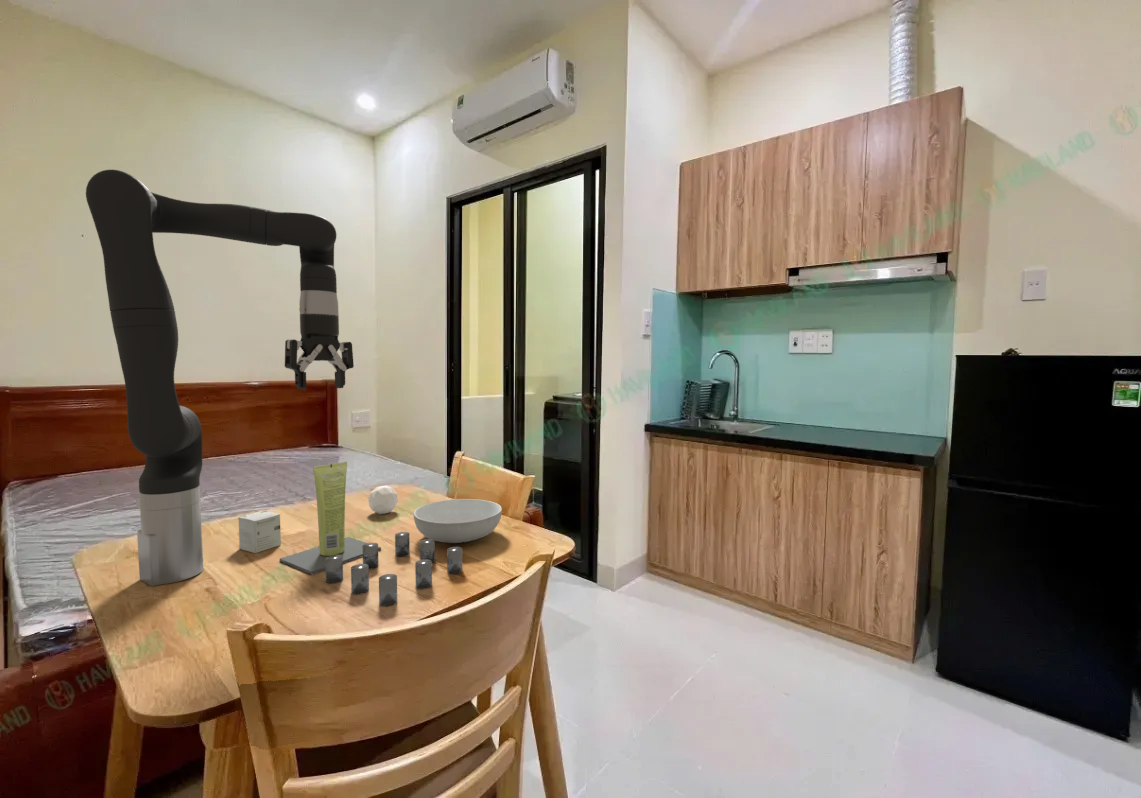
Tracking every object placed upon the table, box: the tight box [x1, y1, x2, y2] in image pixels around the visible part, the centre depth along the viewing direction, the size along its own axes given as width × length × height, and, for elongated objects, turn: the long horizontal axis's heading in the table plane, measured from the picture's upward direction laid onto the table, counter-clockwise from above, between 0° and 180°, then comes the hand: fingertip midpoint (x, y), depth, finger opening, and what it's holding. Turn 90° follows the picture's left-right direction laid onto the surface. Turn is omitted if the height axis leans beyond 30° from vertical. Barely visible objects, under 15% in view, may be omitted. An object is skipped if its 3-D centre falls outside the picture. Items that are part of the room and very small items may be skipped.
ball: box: [367, 484, 399, 515], centre depth 141 cm, size 8×8×8 cm
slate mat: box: [279, 536, 382, 575], centre depth 110 cm, size 16×12×1 cm
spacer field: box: [325, 531, 463, 607], centre depth 100 cm, size 19×19×4 cm
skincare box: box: [238, 510, 282, 554], centre depth 115 cm, size 6×6×7 cm
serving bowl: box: [413, 498, 503, 544], centre depth 123 cm, size 21×21×7 cm
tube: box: [312, 461, 348, 556], centre depth 110 cm, size 6×5×20 cm
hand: (321, 388), depth 111 cm, fingers open, 8 cm apart
